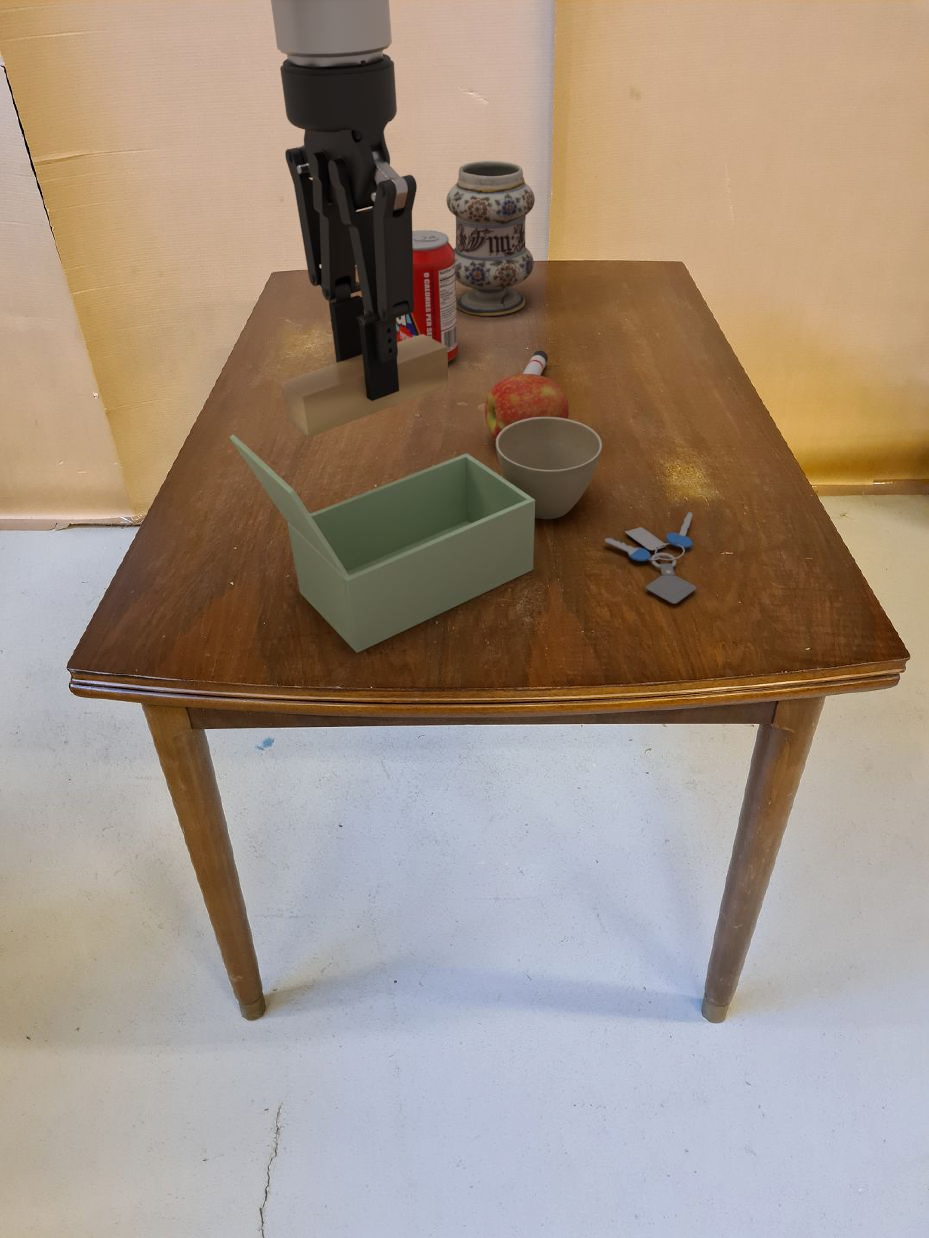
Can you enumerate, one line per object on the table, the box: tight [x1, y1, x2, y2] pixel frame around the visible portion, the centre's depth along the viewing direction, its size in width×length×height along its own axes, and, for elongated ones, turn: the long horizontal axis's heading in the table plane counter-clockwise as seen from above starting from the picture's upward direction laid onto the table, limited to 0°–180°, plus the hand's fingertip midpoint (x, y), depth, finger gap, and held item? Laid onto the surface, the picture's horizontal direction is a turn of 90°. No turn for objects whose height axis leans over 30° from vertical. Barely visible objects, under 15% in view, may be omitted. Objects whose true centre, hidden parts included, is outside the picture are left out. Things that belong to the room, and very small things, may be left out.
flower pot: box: [495, 417, 603, 520], centre depth 88 cm, size 10×10×7 cm
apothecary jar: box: [446, 160, 536, 317], centre depth 124 cm, size 12×12×18 cm
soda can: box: [396, 229, 459, 362], centre depth 112 cm, size 8×8×15 cm
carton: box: [286, 453, 536, 654], centre depth 79 cm, size 18×10×8 cm, turn 126°
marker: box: [522, 349, 549, 376], centre depth 108 cm, size 15×2×2 cm, turn 164°
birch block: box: [280, 334, 450, 438], centre depth 75 cm, size 4×14×4 cm, turn 129°
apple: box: [484, 373, 570, 441], centre depth 97 cm, size 8×8×8 cm
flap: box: [229, 434, 347, 575], centre depth 68 cm, size 9×10×1 cm
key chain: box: [604, 511, 697, 605], centre depth 83 cm, size 14×8×1 cm, turn 170°
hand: (368, 385), depth 75 cm, fingers closed on birch block, 3 cm apart
